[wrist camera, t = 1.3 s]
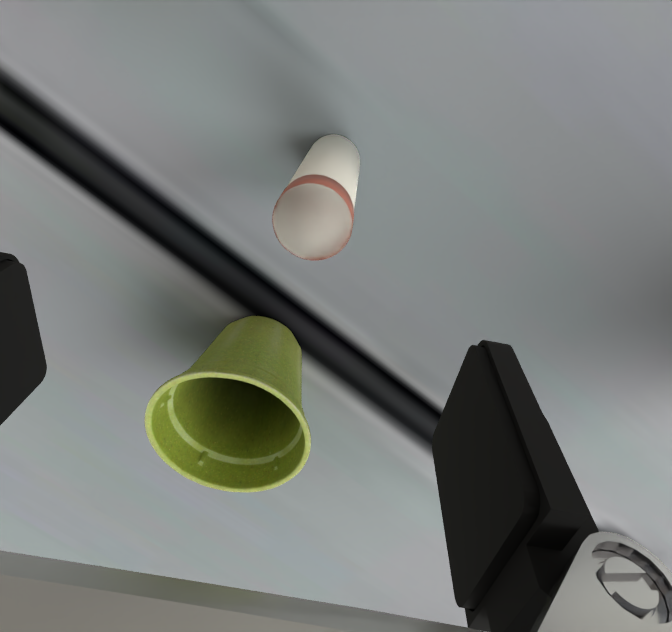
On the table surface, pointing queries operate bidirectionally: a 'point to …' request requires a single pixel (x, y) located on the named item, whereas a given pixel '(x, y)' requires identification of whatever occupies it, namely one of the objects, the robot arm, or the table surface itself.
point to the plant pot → (235, 411)
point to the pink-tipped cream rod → (319, 200)
